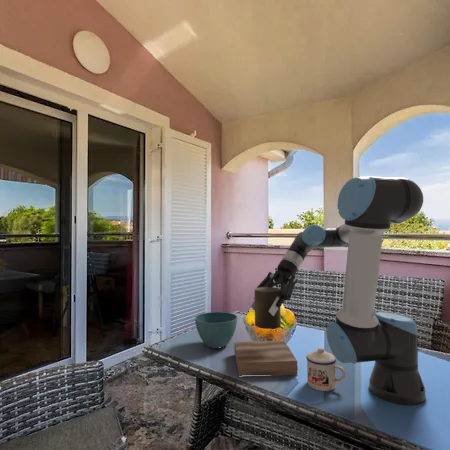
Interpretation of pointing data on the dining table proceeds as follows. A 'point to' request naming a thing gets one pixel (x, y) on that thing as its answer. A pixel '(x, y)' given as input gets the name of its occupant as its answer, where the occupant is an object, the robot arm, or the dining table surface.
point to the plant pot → (216, 328)
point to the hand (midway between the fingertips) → (261, 310)
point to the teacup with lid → (322, 370)
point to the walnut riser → (264, 358)
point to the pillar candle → (266, 308)
